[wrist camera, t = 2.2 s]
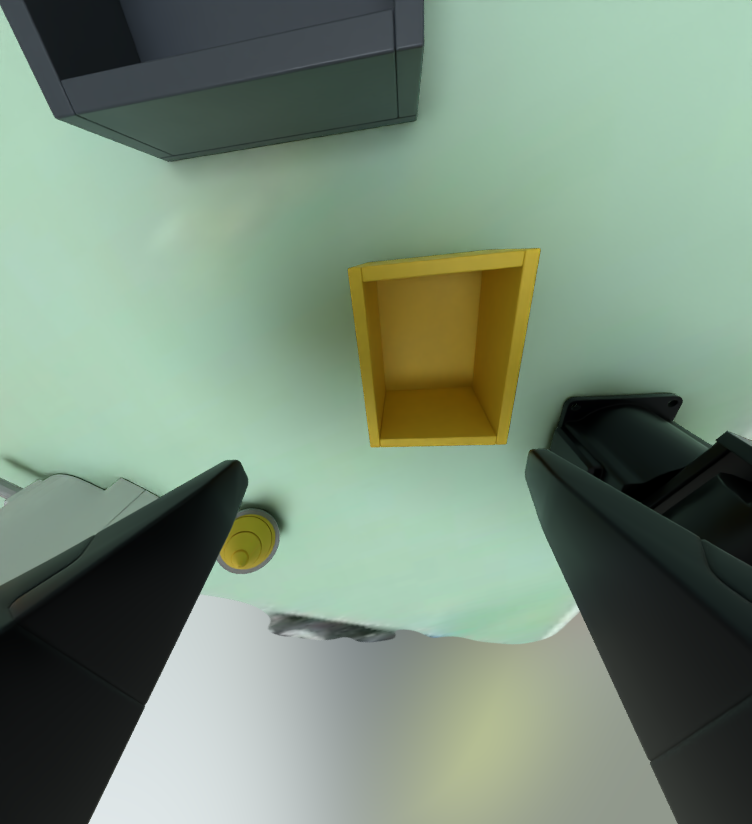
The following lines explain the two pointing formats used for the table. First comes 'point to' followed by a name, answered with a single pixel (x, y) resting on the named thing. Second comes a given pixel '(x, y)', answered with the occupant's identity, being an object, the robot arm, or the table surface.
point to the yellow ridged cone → (250, 542)
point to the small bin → (442, 344)
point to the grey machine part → (58, 517)
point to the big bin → (222, 68)
